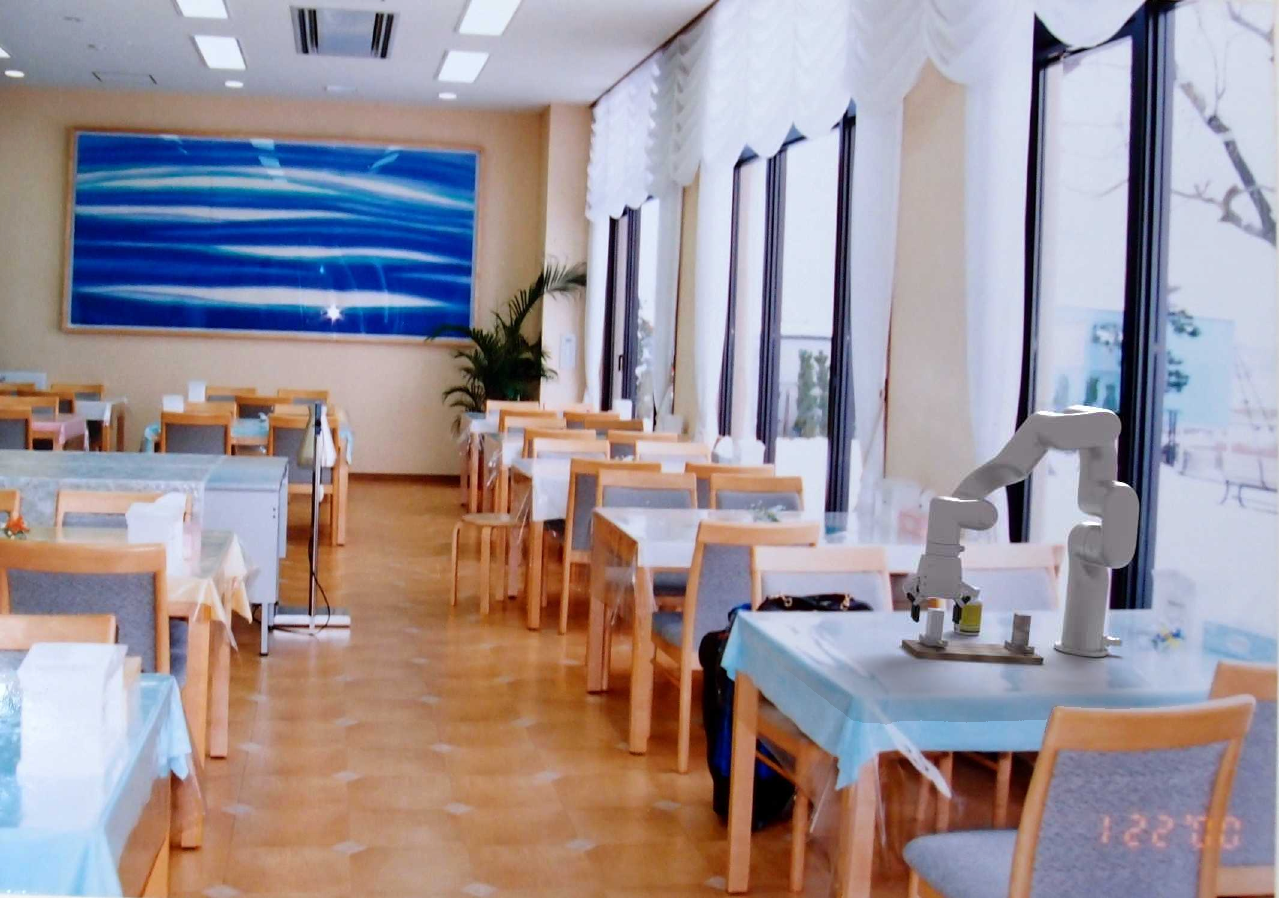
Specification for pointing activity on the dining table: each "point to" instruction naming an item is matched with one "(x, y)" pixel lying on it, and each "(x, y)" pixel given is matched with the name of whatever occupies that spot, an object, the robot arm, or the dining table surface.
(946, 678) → the dining table surface
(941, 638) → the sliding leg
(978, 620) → the pill bottle
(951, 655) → the wooden board with posts
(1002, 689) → the dining table surface
